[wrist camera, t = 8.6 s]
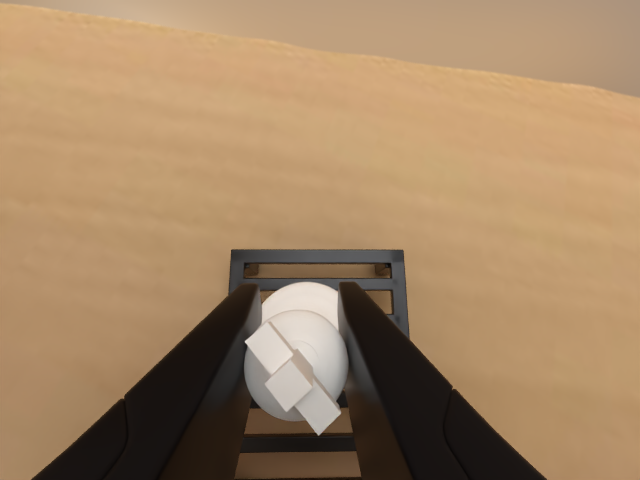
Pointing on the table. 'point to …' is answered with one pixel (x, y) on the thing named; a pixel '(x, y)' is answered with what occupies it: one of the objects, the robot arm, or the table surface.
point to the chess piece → (298, 356)
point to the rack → (384, 264)
